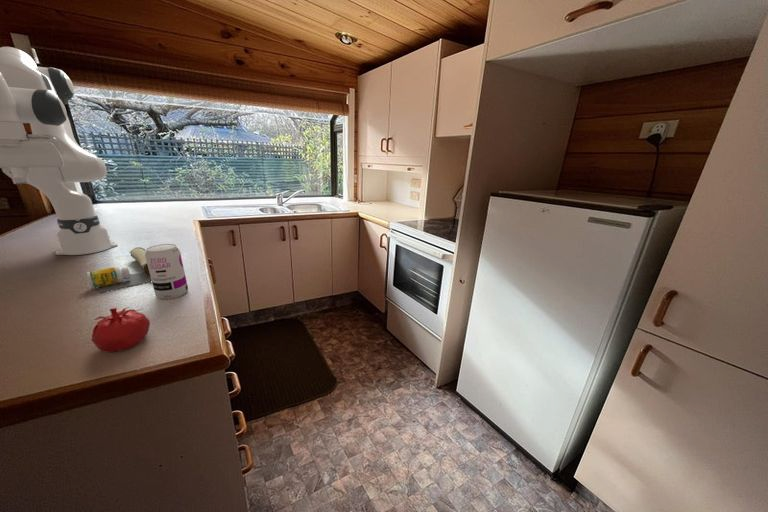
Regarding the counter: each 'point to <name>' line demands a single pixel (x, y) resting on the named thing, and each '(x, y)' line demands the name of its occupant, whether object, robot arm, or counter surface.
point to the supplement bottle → (107, 276)
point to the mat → (127, 282)
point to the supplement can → (166, 271)
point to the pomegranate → (120, 330)
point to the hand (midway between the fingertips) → (21, 183)
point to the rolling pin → (140, 258)
